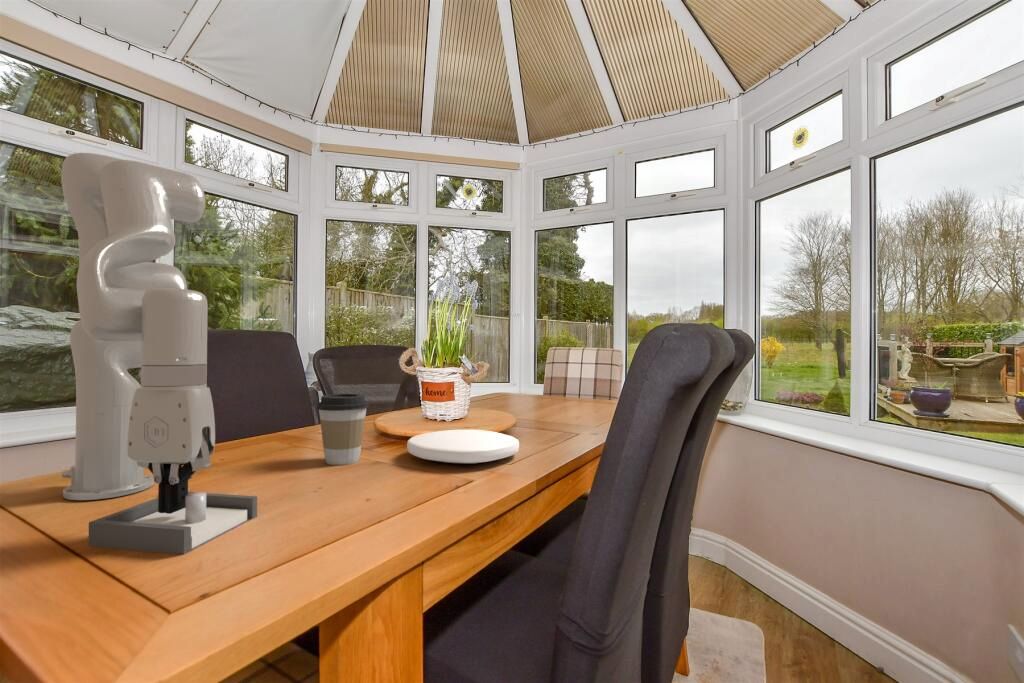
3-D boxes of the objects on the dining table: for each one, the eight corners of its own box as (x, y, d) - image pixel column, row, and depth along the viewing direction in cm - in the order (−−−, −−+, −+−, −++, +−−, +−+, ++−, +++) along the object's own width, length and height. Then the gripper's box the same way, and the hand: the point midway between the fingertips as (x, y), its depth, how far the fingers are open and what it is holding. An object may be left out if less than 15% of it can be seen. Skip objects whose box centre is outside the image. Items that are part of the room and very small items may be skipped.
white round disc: (433, 425, 132) (528, 430, 127) (431, 449, 132) (527, 455, 126) (387, 432, 105) (506, 439, 100) (385, 462, 105) (504, 471, 99)
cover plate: (110, 541, 62) (110, 503, 62) (175, 514, 72) (175, 481, 72) (191, 548, 61) (192, 509, 61) (247, 520, 70) (247, 485, 71)
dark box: (88, 553, 61) (88, 522, 61) (176, 516, 74) (176, 491, 74) (183, 562, 59) (184, 529, 59) (256, 523, 72) (257, 496, 72)
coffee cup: (373, 455, 116) (374, 393, 116) (360, 467, 105) (361, 398, 105) (325, 455, 115) (326, 393, 115) (307, 467, 104) (308, 398, 104)
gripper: (102, 378, 64) (100, 516, 64) (200, 381, 62) (199, 523, 62) (152, 375, 72) (151, 498, 72) (242, 377, 69) (240, 504, 69)
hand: (173, 509), depth 67 cm, fingers closed
